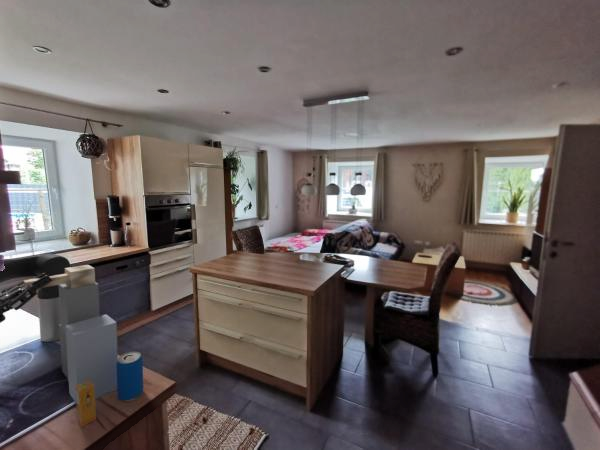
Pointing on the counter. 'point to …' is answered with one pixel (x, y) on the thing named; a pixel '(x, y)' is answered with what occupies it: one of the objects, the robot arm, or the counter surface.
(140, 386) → the beverage can
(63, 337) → the tall tower
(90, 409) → the supplement box
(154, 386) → the counter surface
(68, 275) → the mallet
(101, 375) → the grey tall block
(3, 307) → the robot arm
